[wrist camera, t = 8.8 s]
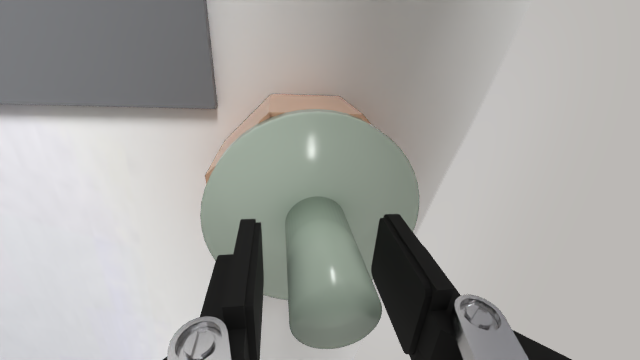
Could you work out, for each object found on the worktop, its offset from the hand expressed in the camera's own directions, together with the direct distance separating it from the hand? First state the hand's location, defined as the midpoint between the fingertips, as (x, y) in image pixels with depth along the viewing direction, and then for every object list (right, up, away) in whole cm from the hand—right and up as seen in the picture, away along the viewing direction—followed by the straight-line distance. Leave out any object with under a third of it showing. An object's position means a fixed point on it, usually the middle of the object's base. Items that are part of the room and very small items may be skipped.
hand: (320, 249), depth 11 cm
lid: (0, +1, +3) cm, 3 cm away
